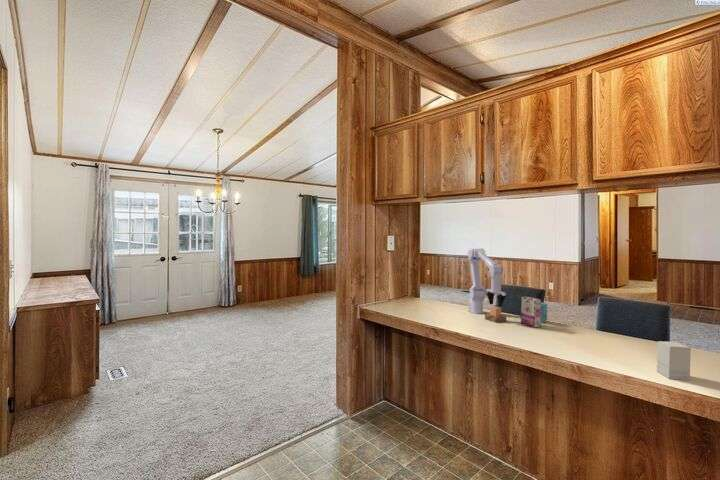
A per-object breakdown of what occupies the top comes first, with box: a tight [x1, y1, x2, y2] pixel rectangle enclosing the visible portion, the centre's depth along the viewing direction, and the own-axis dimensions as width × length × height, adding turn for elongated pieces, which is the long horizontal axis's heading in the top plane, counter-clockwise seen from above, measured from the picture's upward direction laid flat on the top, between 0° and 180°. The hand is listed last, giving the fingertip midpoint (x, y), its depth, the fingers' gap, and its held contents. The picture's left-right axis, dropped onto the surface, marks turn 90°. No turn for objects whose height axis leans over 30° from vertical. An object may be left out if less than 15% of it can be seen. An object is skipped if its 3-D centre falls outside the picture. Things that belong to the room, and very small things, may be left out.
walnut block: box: [484, 313, 507, 323], centre depth 222 cm, size 9×9×4 cm
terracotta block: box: [489, 306, 502, 316], centre depth 222 cm, size 4×4×5 cm
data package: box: [541, 301, 548, 324], centre depth 220 cm, size 12×4×12 cm, turn 36°
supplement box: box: [656, 340, 692, 381], centre depth 137 cm, size 7×7×13 cm
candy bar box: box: [520, 296, 542, 328], centre depth 210 cm, size 11×5×16 cm, turn 16°
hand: (495, 305), depth 222 cm, fingers open, 7 cm apart
